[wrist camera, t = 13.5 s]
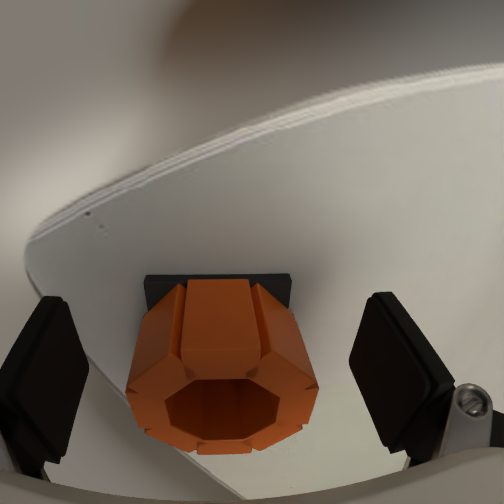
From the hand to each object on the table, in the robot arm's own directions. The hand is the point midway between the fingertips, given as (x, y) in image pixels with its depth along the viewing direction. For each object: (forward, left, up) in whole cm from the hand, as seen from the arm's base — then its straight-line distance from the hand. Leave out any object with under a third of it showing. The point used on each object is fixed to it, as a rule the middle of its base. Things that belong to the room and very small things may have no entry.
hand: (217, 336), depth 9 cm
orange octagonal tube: (+4, 0, -4) cm, 5 cm away
